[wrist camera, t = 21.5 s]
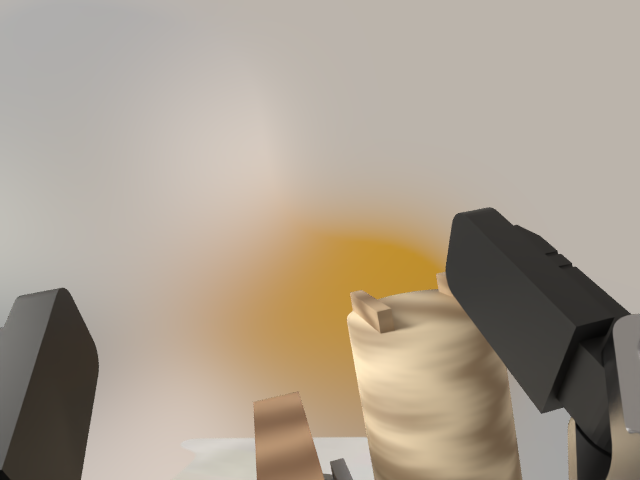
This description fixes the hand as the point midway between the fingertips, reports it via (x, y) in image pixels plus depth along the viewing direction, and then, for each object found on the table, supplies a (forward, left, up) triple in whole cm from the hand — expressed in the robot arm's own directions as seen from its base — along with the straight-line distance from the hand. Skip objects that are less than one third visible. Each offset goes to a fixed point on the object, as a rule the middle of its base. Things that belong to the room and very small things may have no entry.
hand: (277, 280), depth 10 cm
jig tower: (+21, +13, -40) cm, 47 cm away
